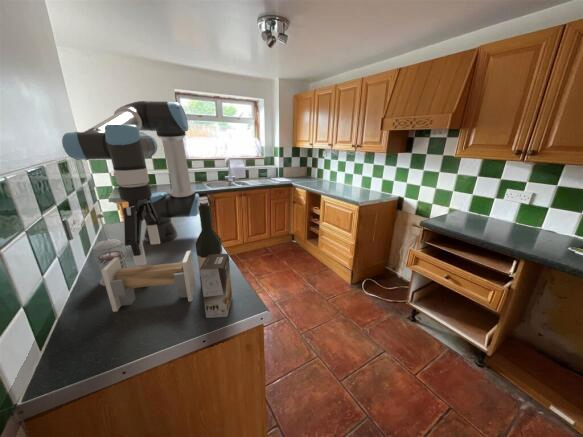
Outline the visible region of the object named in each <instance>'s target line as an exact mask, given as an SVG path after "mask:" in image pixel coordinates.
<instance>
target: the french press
mask: <svg viewBox="0 0 583 437" xmlns="http://www.w3.org/2000/svg"><path fill="white" fill-rule="evenodd" d="M102 218H104V215H103V214H102V213H98V214H97V215H96V219H100V223H101V227H102V231H103V233H104V237H105V240H101V241H99V242H97V243H96V244H95V245H93V247H92V249H93V250H95V251H98V252H99V251H100V252H102V251H106V252H103V253H100V254H99V255H98V256H97V259H98V260H97V263H98V268H99V271H100V275H101V279H100V281H99V285H101V286H103V287H106V285H105V282H104V278H103V275H102V270H103V269H104V268H105V267H106V266H107V265H108V264H109V263H110V262H111V261H112V260H113V259H114V258H116V257H119V260H120V264H121V268H128V267H127V262H128V261H129V259H130V257H131V254H132V251H131V247H130V245H129V246H125V243H122V241H121V240H119V239H116V238H110V239H109V238H108V239H107V237H106V233H105V229H104V225H103V220H102ZM122 246H124V247H125V249H126V255H124V254H123V252H122V251H121V250H112V249H115V248H120V249H121V248H122ZM110 250H111V251H110ZM128 250H129V252H128ZM128 253H129V256H128ZM127 257H128V258H127Z"/></svg>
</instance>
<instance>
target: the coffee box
mask: <svg viewBox="0 0 583 437" xmlns="http://www.w3.org/2000/svg"><path fill="white" fill-rule="evenodd" d="M200 273H201V281H202V287H201V288H202V296H203V304H204V311H205V318H206V319H209V318H210V319H212V318H226V317H228V316H229V311H230V308H231V303H232V301H233V290H232V289H233V288H232V280H231V278H232V277H231V267H230V254H229V253H223V254H214V255H208V256H207V258H206V259H205V261H204V263H203V264H202V266H201V268H200ZM201 281H200V282H201Z"/></svg>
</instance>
